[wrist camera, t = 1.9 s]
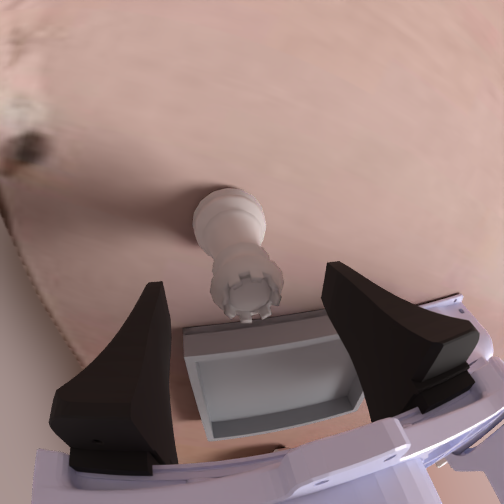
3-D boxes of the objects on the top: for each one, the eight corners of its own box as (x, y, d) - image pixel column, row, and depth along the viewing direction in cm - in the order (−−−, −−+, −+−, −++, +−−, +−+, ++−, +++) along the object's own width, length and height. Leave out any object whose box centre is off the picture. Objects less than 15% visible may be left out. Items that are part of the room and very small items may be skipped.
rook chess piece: (246, 255, 21) (276, 343, 14) (183, 239, 19) (185, 329, 13) (273, 197, 19) (321, 269, 12) (205, 175, 18) (217, 242, 11)
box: (384, 297, 26) (400, 318, 24) (348, 392, 35) (356, 410, 32) (182, 328, 23) (183, 356, 21) (205, 419, 32) (208, 441, 29)
